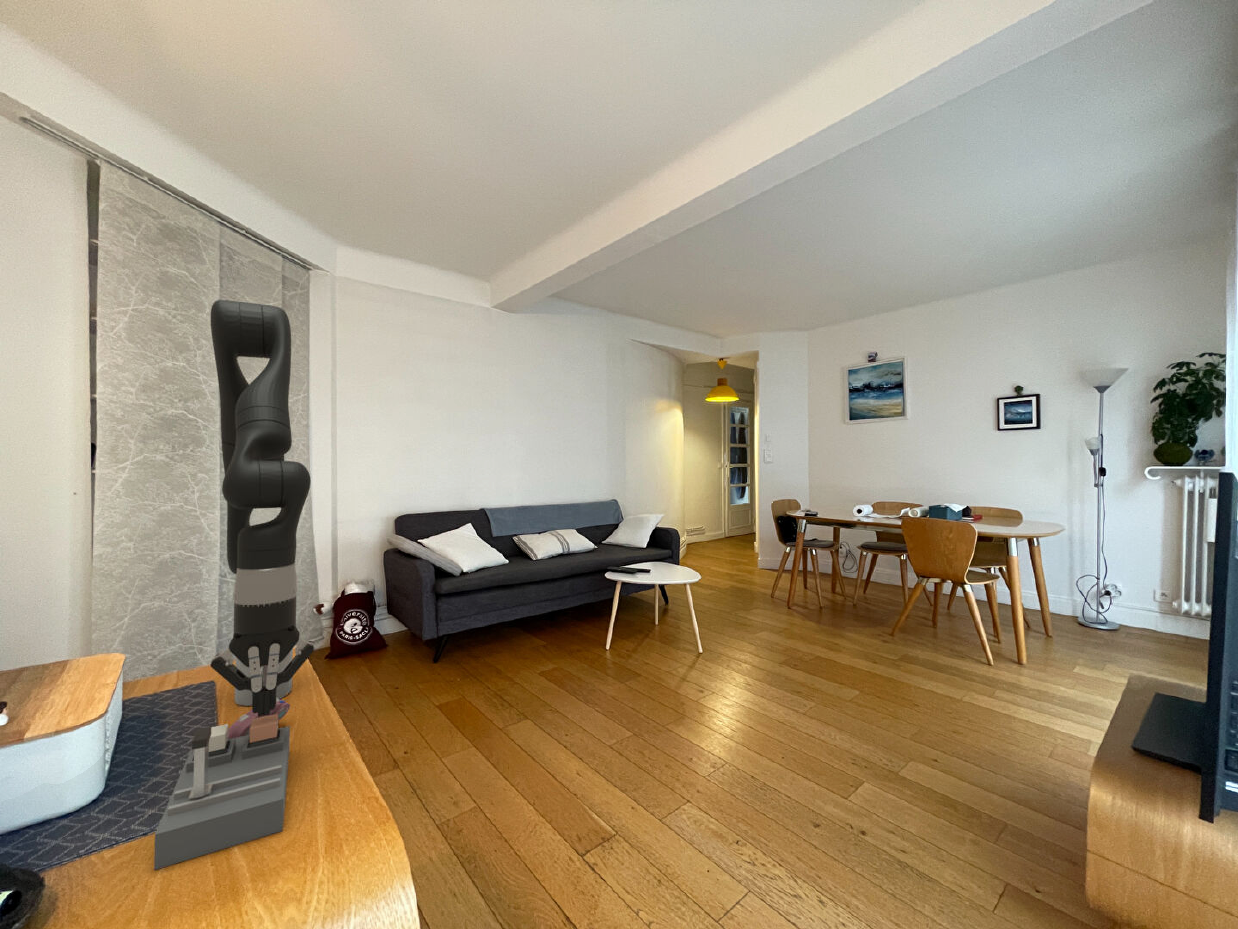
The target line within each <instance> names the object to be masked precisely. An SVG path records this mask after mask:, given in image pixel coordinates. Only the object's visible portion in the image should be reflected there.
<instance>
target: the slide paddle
mask: <svg viewBox="0 0 1238 929" xmlns="http://www.w3.org/2000/svg"><path fill="white" fill-rule="evenodd" d="M211 727H212V726H208V727H205V728H204V727H203V728H198V729H196V732H195V733H194V736H193V739H192V741H191V748H192V750H194V788H192V790H191V793H190V796H189V801H192V800H196V799H200V798H204V797H208V796H211V794H212V791H213V783H212V784H208V772H209V739H210V737H211Z"/></svg>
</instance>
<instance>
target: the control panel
mask: <svg viewBox="0 0 1238 929" xmlns="http://www.w3.org/2000/svg"><path fill="white" fill-rule="evenodd" d="M290 729H291V726H290V725H288V726H285V727H280V728H279V727H278V731H277V737H274V738H269V739H265V740H260V741H256V742H251V743H250V735H246V736H242V737H238V738H232V739H228V740H227V743H226V746H225V749H220V750H216V751H211V752H209V772H208V784H212V783H213V791H212V794H211V796H208V797H204V798H200V799H196V800H192V801H189V796H190V793H191V790H192V788H194V750H192V747H191V748H190V751H189V754H188V756H187V758H186V761H185V763H184V765H183V767H182V769H181V772H180V774H179V777H178V779H177V781H176V784H175V786H174V789H173V792H172V793H171V796H170V798H169V800H168V803H167V805H166V807H165V810H164V812H163V814H162V817H161V819H160V822H159V824H158V826H157V828H156V830H155V833H154V860H153V863H154V866H153V869H154V871H155V870H159V869H162V868H166V867H169V866H173V865H177V864H178V863H182V862H185V861H188V860H192V859H195V858H200V857H201V856H202V857H203V856H205V855H209V854H211V853H214V852H218V851H221V850H225V849H228V848H230V847H231V848H232V847H235V846H238V845H241V844H244V843H247V842H250V841H251V842H252V841H254V840H258V839H260V838H263V837H264V838H265V837H267V836H270V835H271V836H272V835H274V834H277V833H280V832H283V831H284V821H285V820H284V818H285V810H286V809H285V808H286V806H285V805H286V797H287V796H286V794H287V784H288V782H287V781H288V772H289V761H288V760H290V734H291V733H290V732H291V730H290Z"/></svg>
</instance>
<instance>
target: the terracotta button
mask: <svg viewBox="0 0 1238 929" xmlns="http://www.w3.org/2000/svg"><path fill="white" fill-rule="evenodd" d="M278 728H279V721H278V714H275V715H270V716H265V717H260V718H255V719H252V722H251V726H250V743H251V742H256V741H260V740H265V739H269V738H274V737H277V731H278Z"/></svg>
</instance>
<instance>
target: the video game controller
mask: <svg viewBox="0 0 1238 929" xmlns="http://www.w3.org/2000/svg"><path fill="white" fill-rule="evenodd" d="M290 707H291V704H290V703H289V702H287V701H285V700H284V699H278V698H276V706H275V709H274V710H271V711H270V714H269V715H264V716H259V717H258V713H253V711H252V708H251V709H250V710H249V711H247V713H244V714H242V715H241V716H240V717H239V718H238V719H237V720H235V721H234V722H233V723H232V724H231V725H230V727H228V739H232V738H238V737H242V736H246V735H250V726H251V722H252V719H255V718H260V717H265V716H270V715H275V714H278V722H279V721H280V720H281V719H283V718H284V717H285V716H286V714H287V713H288V712H289V710H290Z"/></svg>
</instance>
